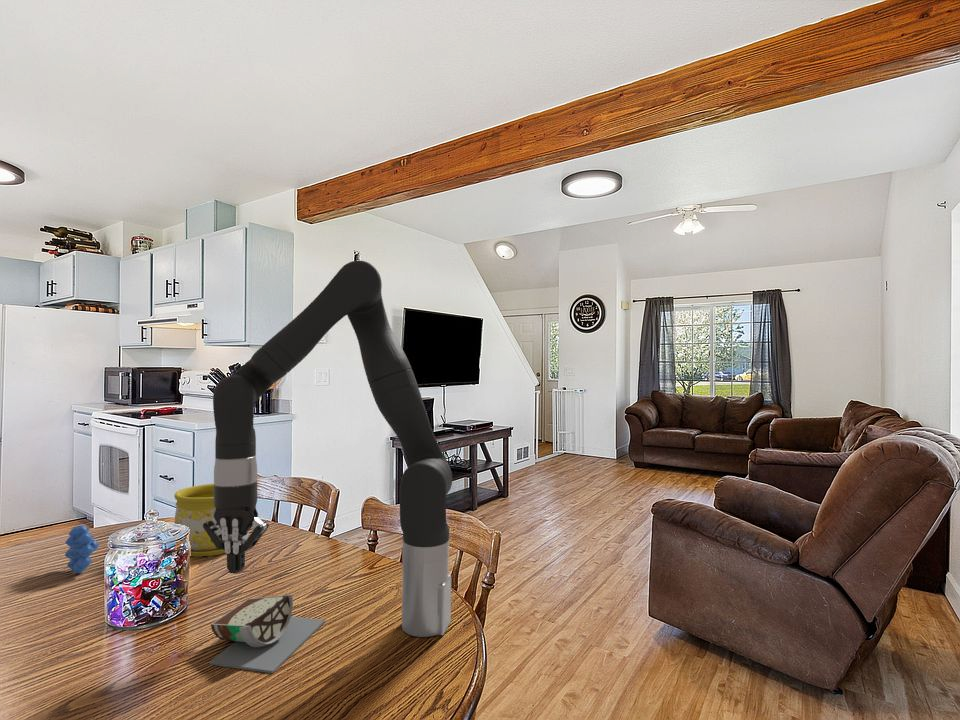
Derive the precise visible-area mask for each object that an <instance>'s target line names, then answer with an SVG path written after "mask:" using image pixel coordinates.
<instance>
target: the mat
mask: <svg viewBox="0 0 960 720" xmlns="http://www.w3.org/2000/svg"><path fill="white" fill-rule="evenodd" d="M325 623H326V620H325V619H324V620H323V619H318V618H308V617H300V616H292V615H291V619H290V622H289V624H288V626H287V629H286V630H285V632H284V633H283V635H282V636H281V637H280V638H279V639H278V640H276V641H275V642H273V643H271V644H269V645H266V646H263V647H252V646H250V645H248V644H247V643H246V642H238V641H233V643H231V644H230V645H229V646H228V647H227V648H225V649H224V650H223V651H221V652H220V653H219V654H217V655H216V656H215V657H214V658H212V659H211V660H210V661H209V662H208V663H209V665H211V666H219V667H226V668H232V669H239V670H245V671H252V672H259V673H267V674H274V673H275V672H276V671H278V669H280V667H281V666H282V665H283V664H284V663H286V661H287V660H288V659H290V657H291V656H293V655H294V654H295V652H296V651H297V650H298V649H300V647H301V646H302V645H304V644H305V643H306V641H307V640H309V638H311V637H312V636H313V635H314V634H315V632H317V630H319V629H320V628H321V626H323V625H324V624H325Z"/></svg>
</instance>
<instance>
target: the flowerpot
mask: <svg viewBox="0 0 960 720" xmlns="http://www.w3.org/2000/svg"><path fill="white" fill-rule="evenodd" d="M174 499H175V500H176V503H175V514H174V523H175V524H181V525H185V526H187V527H189V529H190V534H189V541H190V545H191V556H190V557H192V558H193V557H194V558H203V557H202V556H208V557H214V555H215V556H218V555H223V554H227V553H226V552H225V551H224V550H222V549H221V550H218V549H217V548H216V546H215V545H214V543H213V541H212V540H211V538H210V537H209V535H208V534H207V532H206V531H205V529H204V528H203V524H204V523H206V522H208V521H210V520H211V519H212V518H213V517H214V512H215V510H216V508H215V507H214V483H207V484H206V483H205V484H200V485H193V486H188V487H186V488H182V489H179V490H177V491H176V492H175V493H174ZM174 523H173V524H174ZM219 539H220V538H219ZM221 542H222V541H221Z"/></svg>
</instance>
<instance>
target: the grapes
mask: <svg viewBox="0 0 960 720" xmlns="http://www.w3.org/2000/svg"><path fill="white" fill-rule="evenodd" d="M90 531H91V529H90V528H89V527H87V525H85V524H84V525H83V524H81V525H76V526H74V527H73V528H71V530H70V532H68V535H69V537H68V538H67V539H66V541H65V544H66V545H67V546H68V547H69V548H68V550H67V551H66V552H65V554H64V556H65V557H66V558H68V560H69V562H68V563H67V564H66V565H67V567H68V568H69V569H71V571H72V572H74V573H75V574H78V575H79V574H82V573H83V572H84V571H86V569H87V568H88V567H89V566H90V565H91V563H92V562H93V559H92V558H90V556H91V555H92V554H93V553H94V552H95V551H96V550H97V549H98V548H99V546H100V545H101V544H100V542H99V541H97V540H95V539H94V536H93V535H92V534H91V533H90Z"/></svg>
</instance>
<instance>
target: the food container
mask: <svg viewBox="0 0 960 720" xmlns="http://www.w3.org/2000/svg"><path fill="white" fill-rule="evenodd" d="M293 599H294V598H293V594H290V593H284V594H282V595H274V596H264V597H253V598H247V599H246V600H244V601H242V602H241V603H240V604H238V605H237V606H235V607H234V608H232V609H230V610H229V611H228V612H227V613H225V614H224V615H222V616H221V617H220V618H218V619H217V620H215V621H213V622H212V623H211V624H210V627H211V631H212V632H213V634H214V635H215V637H216V638H218V639H219V640H222V641H230V642H235V641H238V642H246V643H247V644H248V645H250V646H252V647H263V646H266V645H269V644H271V643H273V642H275V641H276V640H278V639H279V638H280V637H281V636H282V635H283V633H284V632H285V630H286V629H287V626H288V624H289V622H290V619H291V616H292V614H293V609H294V607H293V606H294V600H293Z"/></svg>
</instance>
